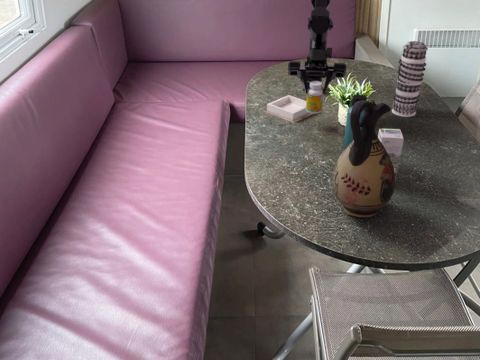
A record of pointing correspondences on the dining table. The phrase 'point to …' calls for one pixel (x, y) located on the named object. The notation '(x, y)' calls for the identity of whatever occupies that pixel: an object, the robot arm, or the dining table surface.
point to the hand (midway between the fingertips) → (315, 93)
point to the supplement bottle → (314, 97)
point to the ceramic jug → (364, 165)
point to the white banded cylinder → (409, 79)
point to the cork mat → (295, 120)
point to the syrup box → (392, 145)
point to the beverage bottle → (348, 130)
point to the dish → (288, 108)
